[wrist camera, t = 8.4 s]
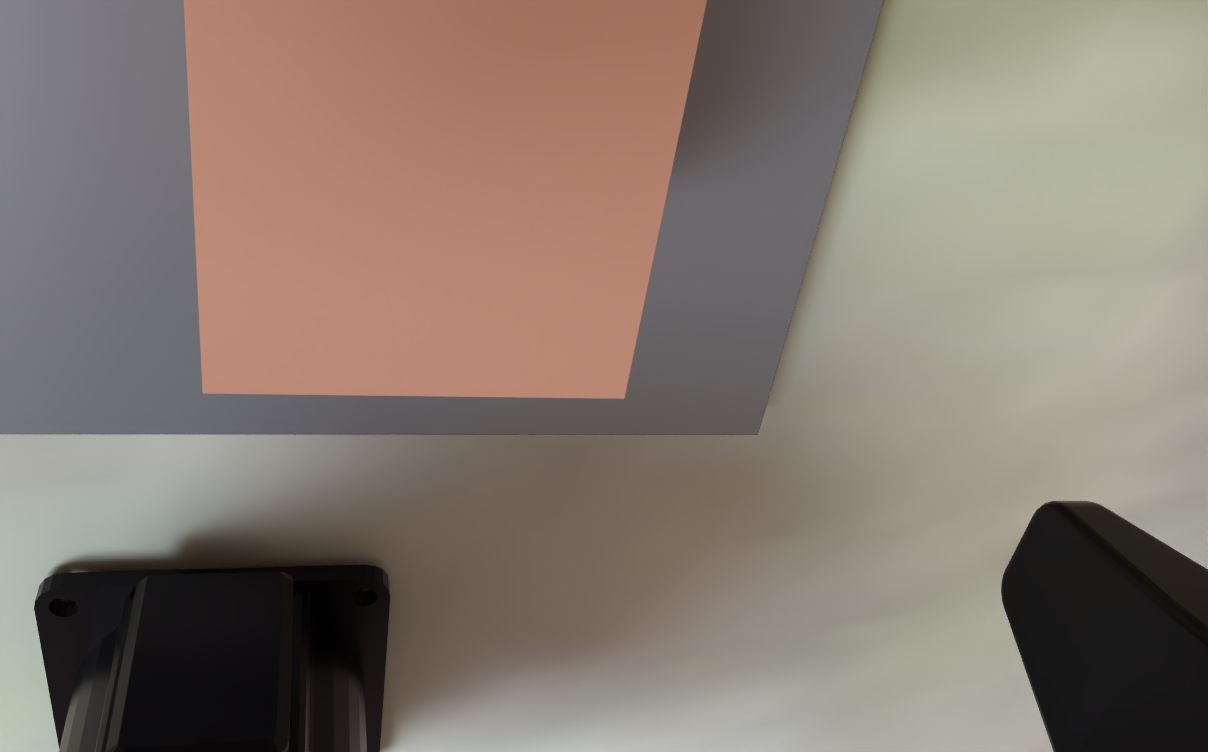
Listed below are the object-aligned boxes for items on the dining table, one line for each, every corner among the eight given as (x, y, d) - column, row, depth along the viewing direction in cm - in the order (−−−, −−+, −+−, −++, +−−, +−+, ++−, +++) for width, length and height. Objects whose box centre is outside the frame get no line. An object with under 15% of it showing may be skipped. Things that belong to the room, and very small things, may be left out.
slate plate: (745, 409, 22) (757, 434, 22) (-40, 404, 19) (-52, 434, 18) (986, -459, 15) (1017, -460, 14) (-271, -738, 11) (-306, -757, 10)
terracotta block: (559, 214, 18) (623, 398, 14) (231, 196, 17) (203, 393, 13) (609, -116, 15) (707, -3, 11) (221, -165, 14) (180, -58, 10)
